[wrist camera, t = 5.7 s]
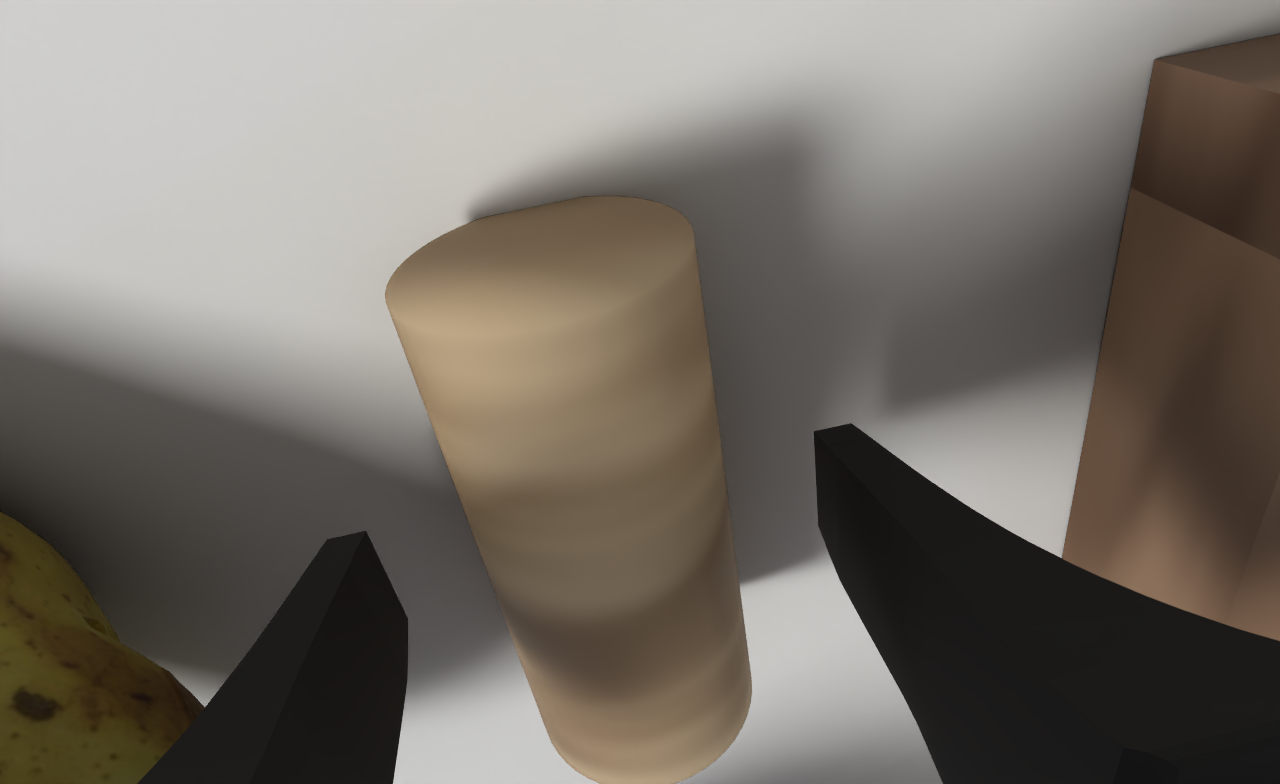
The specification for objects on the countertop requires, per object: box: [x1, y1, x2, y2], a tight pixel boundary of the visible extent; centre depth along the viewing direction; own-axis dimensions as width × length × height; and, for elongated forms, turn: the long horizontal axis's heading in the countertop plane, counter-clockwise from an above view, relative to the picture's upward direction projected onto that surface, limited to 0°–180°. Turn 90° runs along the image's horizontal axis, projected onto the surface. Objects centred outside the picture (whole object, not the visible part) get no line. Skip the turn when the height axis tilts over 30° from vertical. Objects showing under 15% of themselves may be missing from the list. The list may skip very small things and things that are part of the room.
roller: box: [385, 196, 752, 784], centre depth 13 cm, size 9×4×4 cm, turn 9°
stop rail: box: [1062, 34, 1280, 641], centre depth 14 cm, size 13×3×5 cm, turn 9°
